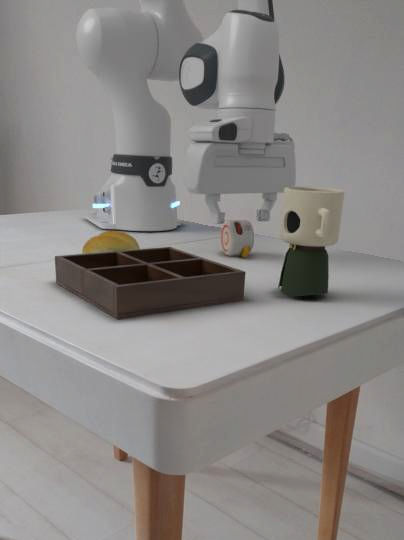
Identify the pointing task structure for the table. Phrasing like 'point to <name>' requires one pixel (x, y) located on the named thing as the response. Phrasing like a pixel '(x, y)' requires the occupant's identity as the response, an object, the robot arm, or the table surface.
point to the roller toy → (237, 238)
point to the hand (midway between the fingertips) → (240, 222)
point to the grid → (148, 280)
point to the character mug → (309, 237)
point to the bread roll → (110, 243)
